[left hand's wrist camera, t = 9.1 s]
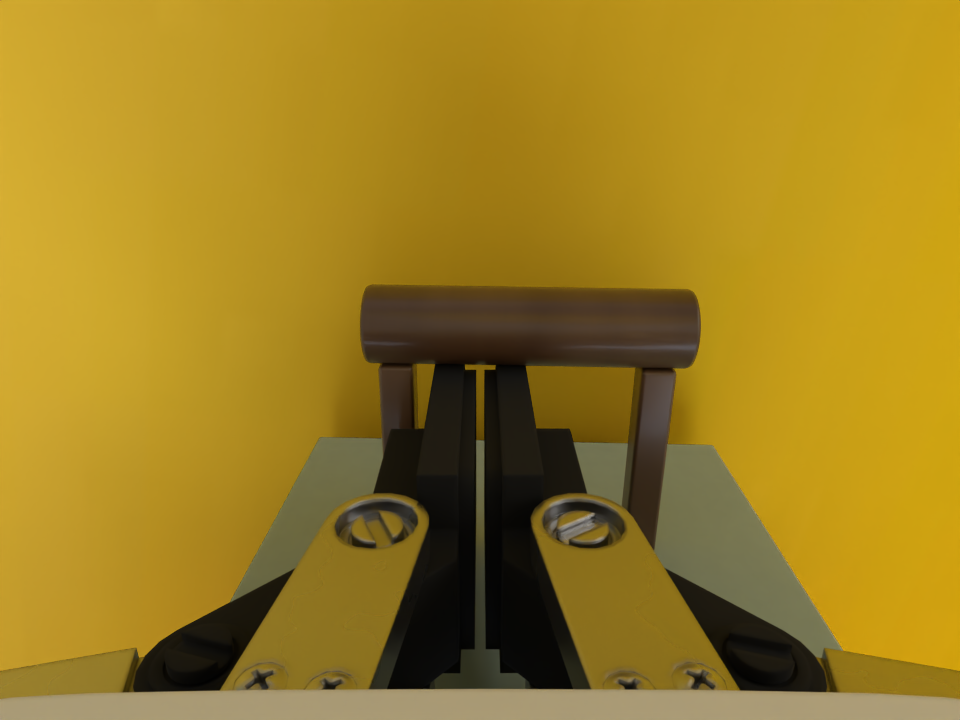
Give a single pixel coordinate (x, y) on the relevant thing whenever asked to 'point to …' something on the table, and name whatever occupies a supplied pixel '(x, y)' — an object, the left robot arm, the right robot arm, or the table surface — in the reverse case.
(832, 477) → the table surface
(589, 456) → the drawer
